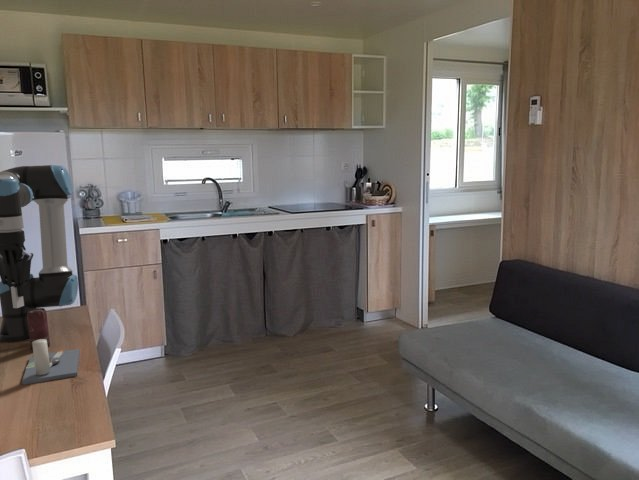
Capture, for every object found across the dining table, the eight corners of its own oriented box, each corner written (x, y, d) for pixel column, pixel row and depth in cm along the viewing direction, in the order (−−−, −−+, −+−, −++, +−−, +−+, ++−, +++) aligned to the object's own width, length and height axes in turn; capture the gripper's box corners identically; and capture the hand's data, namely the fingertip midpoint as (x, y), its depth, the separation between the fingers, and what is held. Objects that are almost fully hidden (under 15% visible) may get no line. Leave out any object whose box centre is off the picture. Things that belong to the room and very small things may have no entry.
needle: (55, 352, 180) (52, 324, 178) (68, 352, 180) (65, 323, 178) (33, 375, 161) (29, 344, 160) (48, 374, 162) (44, 343, 160)
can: (42, 351, 186) (38, 312, 184) (27, 350, 187) (22, 312, 185) (54, 345, 192) (50, 307, 190) (39, 344, 193) (35, 307, 191)
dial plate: (30, 359, 179) (29, 355, 179) (79, 352, 184) (79, 348, 184) (21, 385, 159) (21, 380, 158) (77, 375, 164) (76, 372, 164)
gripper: (-20, 232, 156) (-10, 309, 160) (18, 232, 153) (27, 311, 157) (1, 228, 163) (10, 302, 167) (37, 228, 160) (45, 304, 164)
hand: (18, 306), depth 162 cm, fingers closed
